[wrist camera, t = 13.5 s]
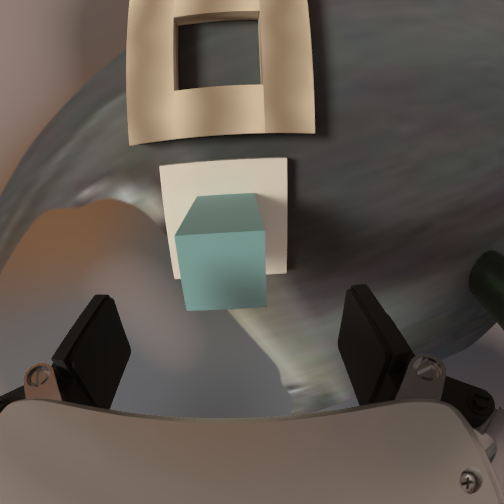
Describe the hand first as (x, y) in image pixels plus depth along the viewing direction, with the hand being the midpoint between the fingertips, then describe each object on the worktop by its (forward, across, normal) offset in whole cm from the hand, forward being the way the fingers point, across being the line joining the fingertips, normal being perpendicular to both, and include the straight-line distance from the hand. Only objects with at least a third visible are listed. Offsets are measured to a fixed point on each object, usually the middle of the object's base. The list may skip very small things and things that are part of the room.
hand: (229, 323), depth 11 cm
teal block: (+13, +1, 0) cm, 13 cm away
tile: (+14, +1, 0) cm, 14 cm away
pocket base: (+14, +1, -14) cm, 20 cm away
